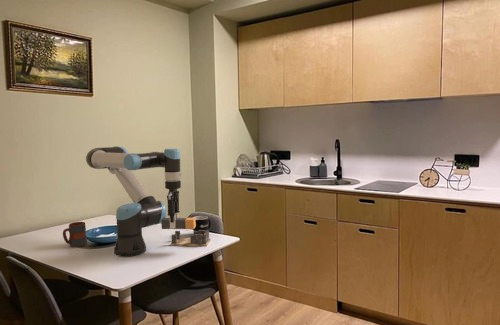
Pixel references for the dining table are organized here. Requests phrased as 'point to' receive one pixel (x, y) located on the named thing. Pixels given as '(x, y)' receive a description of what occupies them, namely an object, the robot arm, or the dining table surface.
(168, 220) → the cable bar
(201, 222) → the mug
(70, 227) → the mug
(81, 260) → the dining table surface
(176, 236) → the grey block assembly
